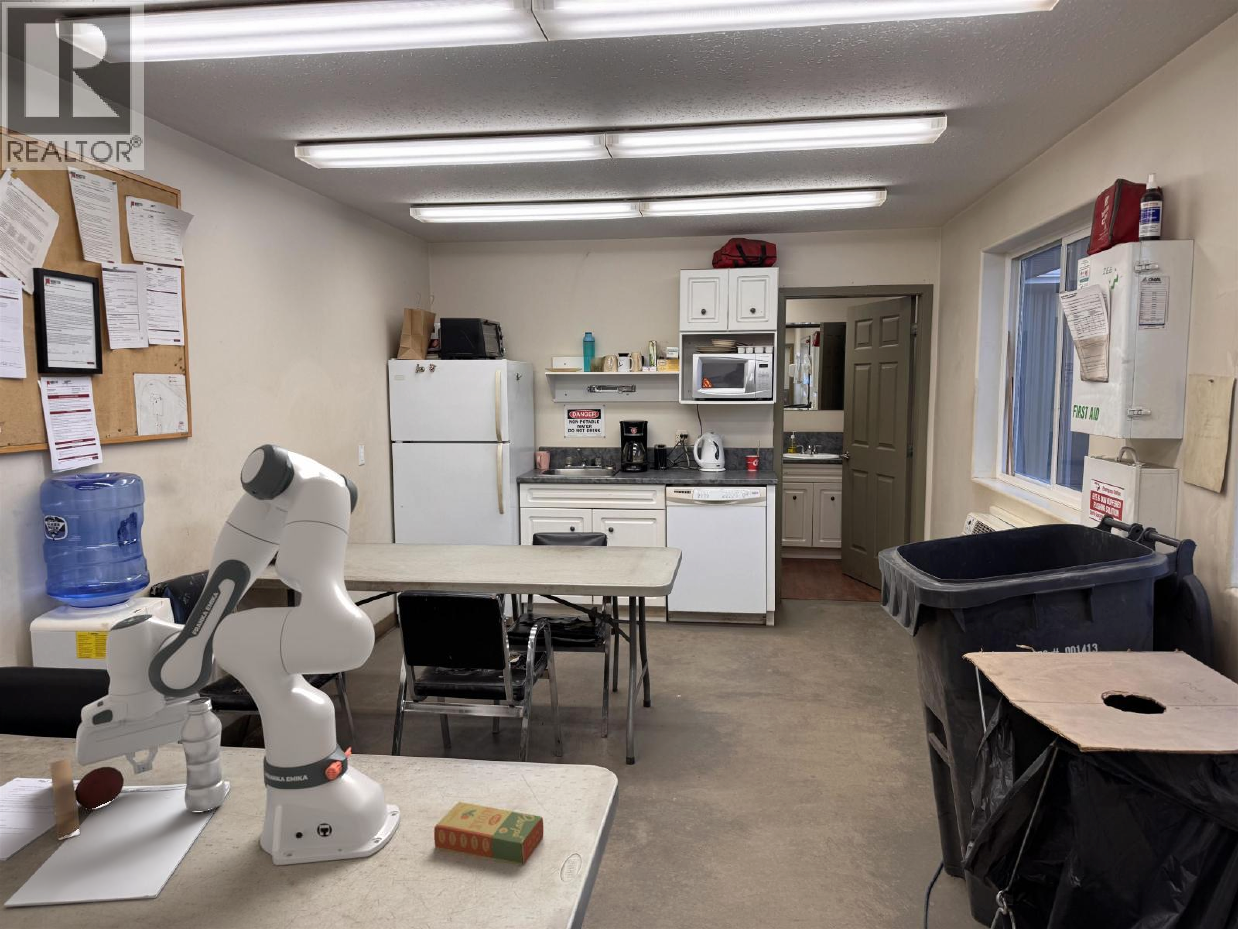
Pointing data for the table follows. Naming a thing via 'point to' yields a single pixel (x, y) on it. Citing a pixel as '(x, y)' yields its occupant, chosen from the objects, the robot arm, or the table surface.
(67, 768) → the board
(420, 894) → the table surface
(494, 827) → the carton
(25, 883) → the table surface
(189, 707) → the plastic bottle
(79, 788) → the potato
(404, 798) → the table surface
